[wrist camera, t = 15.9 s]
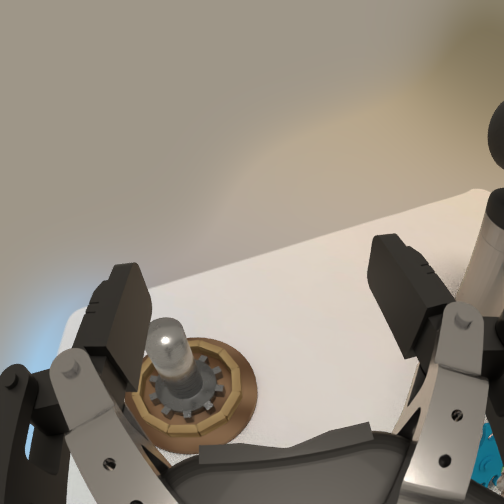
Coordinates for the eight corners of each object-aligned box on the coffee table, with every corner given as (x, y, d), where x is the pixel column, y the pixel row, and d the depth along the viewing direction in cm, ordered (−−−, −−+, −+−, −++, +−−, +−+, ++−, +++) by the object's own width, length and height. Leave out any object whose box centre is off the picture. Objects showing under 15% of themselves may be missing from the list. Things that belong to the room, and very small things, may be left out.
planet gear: (178, 350, 40) (155, 291, 34) (238, 374, 36) (225, 315, 30) (138, 402, 33) (101, 349, 27) (200, 435, 30) (172, 389, 23)
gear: (430, 499, 19) (478, 417, 20) (419, 474, 25) (459, 401, 25) (500, 502, 16) (544, 428, 16) (484, 481, 21) (521, 414, 22)
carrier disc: (173, 328, 45) (169, 316, 44) (278, 365, 38) (278, 353, 37) (105, 412, 33) (95, 403, 31) (216, 478, 26) (211, 472, 25)
